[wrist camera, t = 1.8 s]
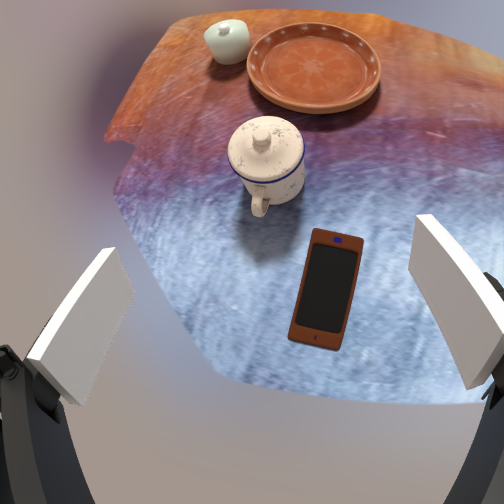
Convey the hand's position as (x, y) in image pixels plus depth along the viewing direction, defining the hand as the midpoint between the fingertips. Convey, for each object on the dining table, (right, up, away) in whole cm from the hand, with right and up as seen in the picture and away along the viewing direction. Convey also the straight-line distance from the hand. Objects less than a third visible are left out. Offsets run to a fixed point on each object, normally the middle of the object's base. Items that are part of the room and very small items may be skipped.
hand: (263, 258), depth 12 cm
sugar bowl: (-4, +39, +35) cm, 53 cm away
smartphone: (+9, -5, +25) cm, 27 cm away
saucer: (+11, +32, +31) cm, 46 cm away
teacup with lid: (+3, +9, +29) cm, 30 cm away
